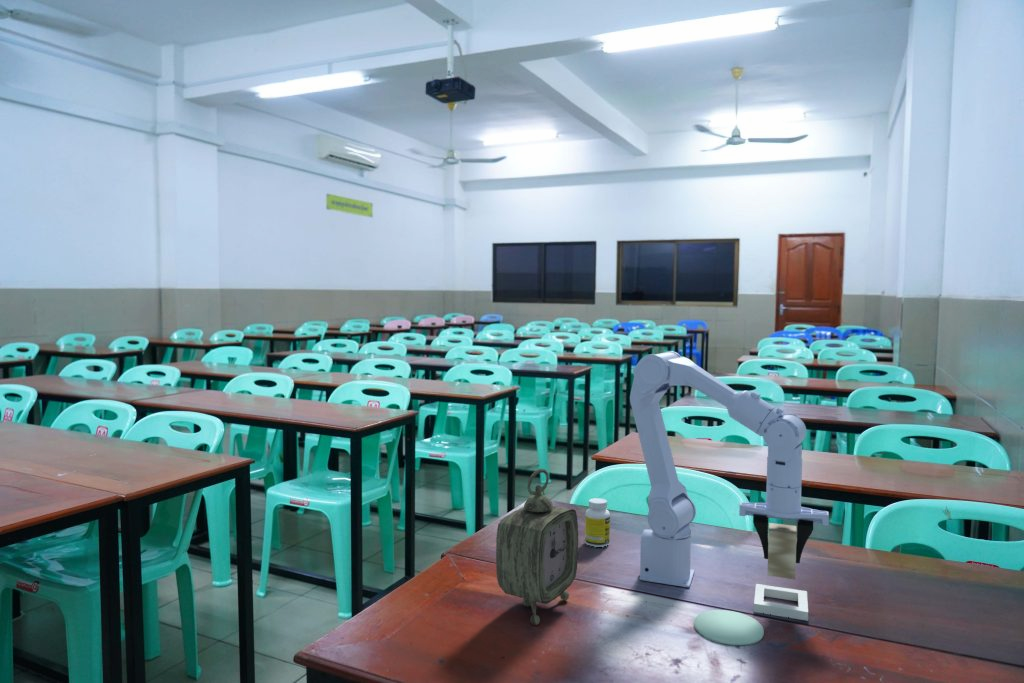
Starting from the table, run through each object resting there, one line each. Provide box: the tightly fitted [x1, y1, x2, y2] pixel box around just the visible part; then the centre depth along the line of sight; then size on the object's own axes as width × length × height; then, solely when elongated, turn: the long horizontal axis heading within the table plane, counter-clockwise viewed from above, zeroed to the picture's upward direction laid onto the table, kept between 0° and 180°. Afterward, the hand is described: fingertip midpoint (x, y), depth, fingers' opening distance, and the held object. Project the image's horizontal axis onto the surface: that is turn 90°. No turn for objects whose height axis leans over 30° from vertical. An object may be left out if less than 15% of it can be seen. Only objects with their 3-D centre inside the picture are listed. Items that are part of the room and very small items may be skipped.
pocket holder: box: [753, 583, 809, 622], centre depth 121 cm, size 9×9×2 cm
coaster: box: [693, 609, 765, 646], centre depth 113 cm, size 11×11×1 cm
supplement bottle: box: [584, 497, 611, 548], centre depth 151 cm, size 5×5×10 cm
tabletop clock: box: [495, 468, 579, 626], centre depth 119 cm, size 14×9×25 cm, turn 148°
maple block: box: [767, 522, 797, 580], centre depth 120 cm, size 4×4×8 cm
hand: (781, 559), depth 120 cm, fingers closed on maple block, 4 cm apart
